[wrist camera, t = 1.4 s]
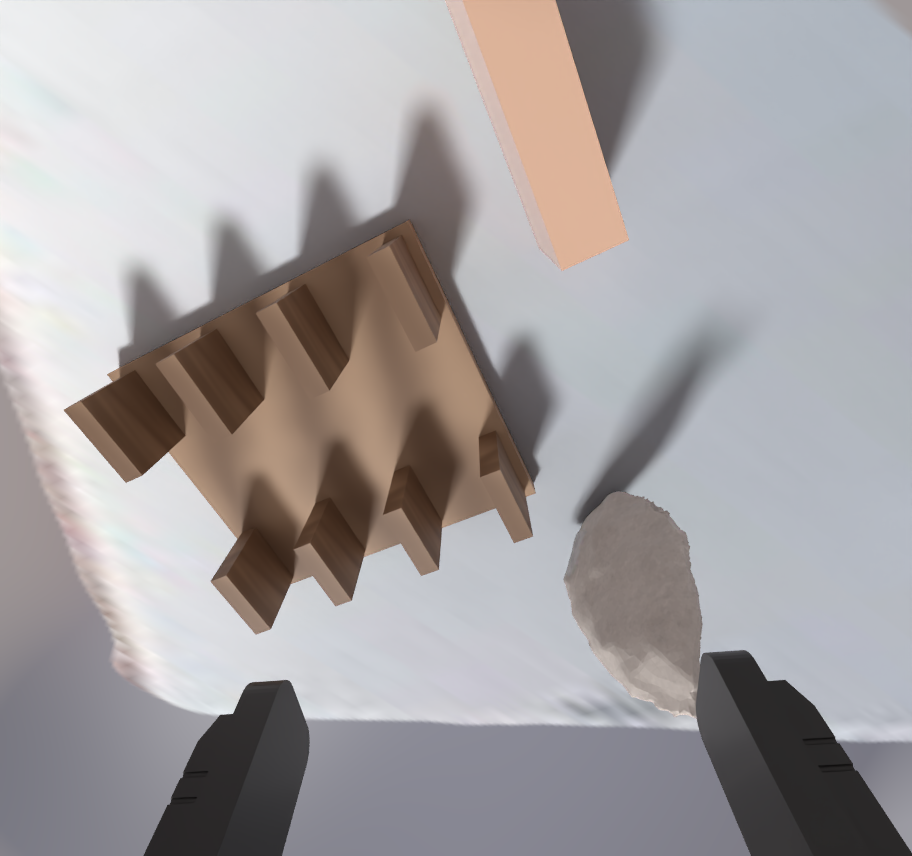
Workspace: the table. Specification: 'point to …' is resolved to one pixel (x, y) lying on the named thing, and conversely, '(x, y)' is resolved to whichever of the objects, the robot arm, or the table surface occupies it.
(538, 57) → the peach rectangular block
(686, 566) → the stone tool
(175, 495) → the table surface
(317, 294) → the drying rack
